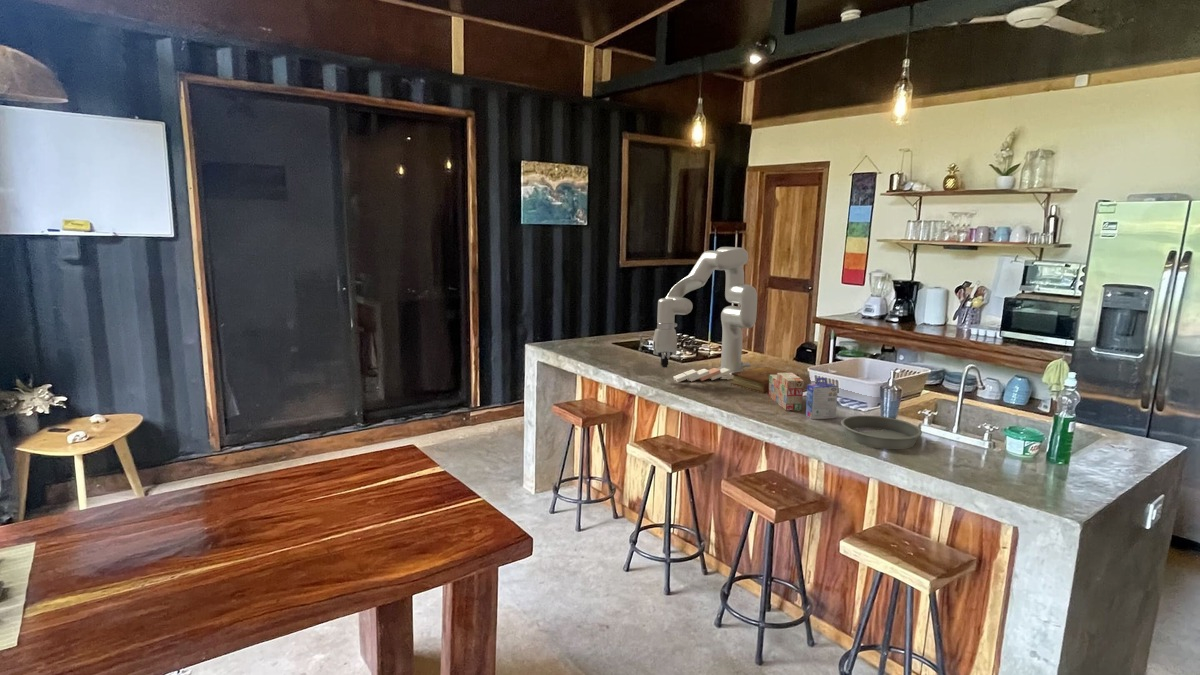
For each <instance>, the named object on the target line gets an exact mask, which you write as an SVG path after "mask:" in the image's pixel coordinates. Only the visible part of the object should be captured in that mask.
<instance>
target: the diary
mask: <svg viewBox="0 0 1200 675" xmlns="http://www.w3.org/2000/svg"><path fill="white" fill-rule="evenodd" d="M777 373H791V372H789V371H786V370H781V369H778V368H773V367H769V366H763V367H757V368H752V369H746V370H745V369H744V371H739V372H734V373H731V375H733V379H732V382H730V385H732V384H733V385H732V386H736V385H737V387H739V386H741V387H740V388H743V387H744V389H746V388H748V389H747V390H750V389H751V390H750V391H753V390H755V391H754V392H757V391H759V392H758V393H760V392H762V393H761V394H766V392H767V393H769V375H777ZM792 373H793V372H792ZM793 374H795V375H796V376H798V377H800V375H799V374H798V373H793Z"/></svg>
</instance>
